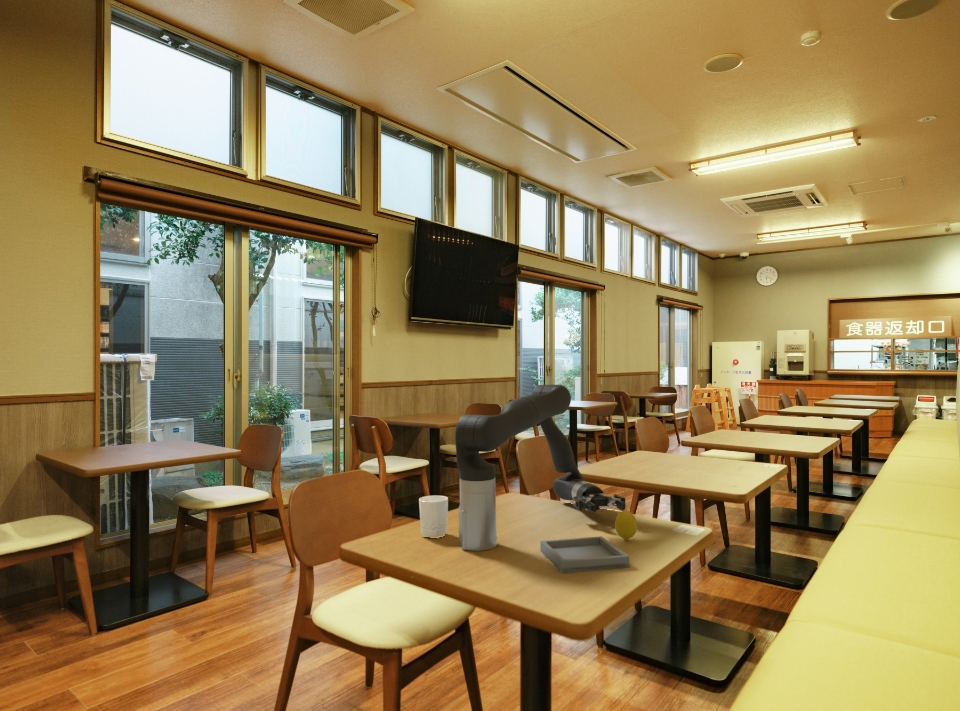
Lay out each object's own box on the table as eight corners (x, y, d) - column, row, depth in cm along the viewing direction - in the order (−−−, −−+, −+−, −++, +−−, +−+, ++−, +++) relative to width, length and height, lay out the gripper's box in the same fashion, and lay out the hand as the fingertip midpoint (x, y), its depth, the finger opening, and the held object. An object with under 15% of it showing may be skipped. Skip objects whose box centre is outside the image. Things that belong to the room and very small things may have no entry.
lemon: (613, 542, 152) (613, 511, 152) (616, 536, 157) (616, 506, 157) (636, 544, 150) (635, 512, 150) (638, 538, 155) (637, 507, 156)
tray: (561, 573, 130) (561, 561, 131) (540, 551, 146) (540, 540, 146) (629, 567, 134) (629, 556, 134) (601, 546, 149) (601, 536, 149)
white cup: (435, 541, 156) (434, 503, 156) (413, 536, 160) (412, 499, 161) (454, 534, 162) (453, 497, 162) (432, 529, 167) (432, 494, 167)
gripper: (564, 484, 179) (584, 495, 163) (609, 481, 181) (632, 492, 166) (565, 509, 179) (585, 523, 163) (609, 506, 181) (633, 519, 165)
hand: (609, 507), depth 164 cm, fingers open, 8 cm apart
